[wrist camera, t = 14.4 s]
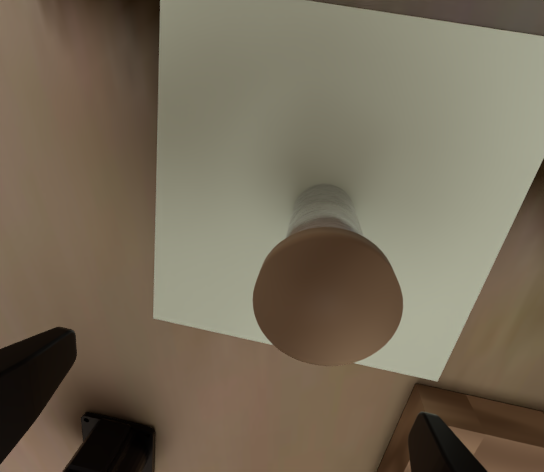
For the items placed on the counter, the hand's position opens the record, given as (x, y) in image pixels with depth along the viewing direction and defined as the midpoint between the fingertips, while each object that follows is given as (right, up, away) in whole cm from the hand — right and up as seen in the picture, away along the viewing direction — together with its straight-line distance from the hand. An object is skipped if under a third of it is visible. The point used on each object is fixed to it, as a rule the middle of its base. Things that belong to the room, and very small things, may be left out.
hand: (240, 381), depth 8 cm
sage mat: (+4, +5, +11) cm, 13 cm away
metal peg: (+4, +5, +11) cm, 12 cm away
